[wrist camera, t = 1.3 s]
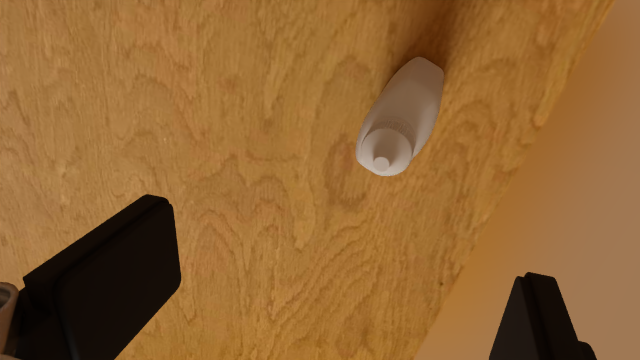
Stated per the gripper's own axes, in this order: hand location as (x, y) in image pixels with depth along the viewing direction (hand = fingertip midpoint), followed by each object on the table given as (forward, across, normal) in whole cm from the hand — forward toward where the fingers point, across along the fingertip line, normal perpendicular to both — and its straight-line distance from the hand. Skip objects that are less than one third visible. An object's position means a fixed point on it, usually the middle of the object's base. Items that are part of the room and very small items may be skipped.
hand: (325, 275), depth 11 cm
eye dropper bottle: (+20, 0, 0) cm, 20 cm away
